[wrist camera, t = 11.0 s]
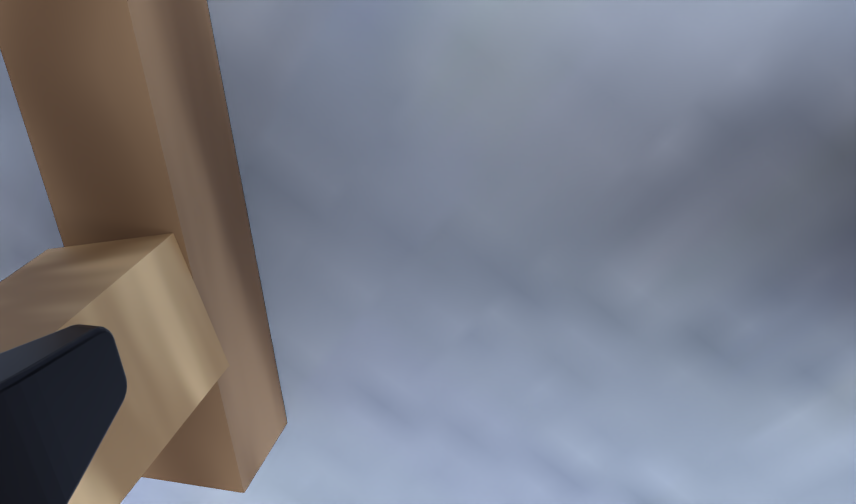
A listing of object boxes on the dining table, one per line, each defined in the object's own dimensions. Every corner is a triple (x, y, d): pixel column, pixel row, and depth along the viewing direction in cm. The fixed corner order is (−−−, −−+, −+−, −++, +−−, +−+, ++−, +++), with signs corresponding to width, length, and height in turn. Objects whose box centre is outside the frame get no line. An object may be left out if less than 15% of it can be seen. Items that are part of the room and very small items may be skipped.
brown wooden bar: (183, -120, 20) (100, -111, 17) (287, 423, 28) (244, 492, 25) (52, -111, 21) (-49, -102, 18) (190, 410, 29) (138, 476, 26)
